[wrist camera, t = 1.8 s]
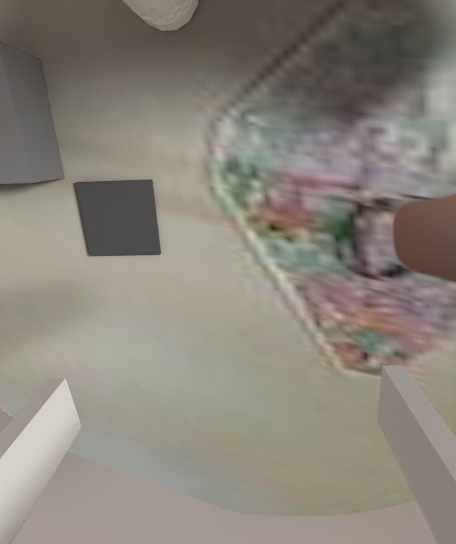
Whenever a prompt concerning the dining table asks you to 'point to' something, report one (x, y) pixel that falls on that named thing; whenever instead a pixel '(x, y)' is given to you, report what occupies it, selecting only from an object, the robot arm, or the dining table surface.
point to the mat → (119, 217)
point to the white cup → (164, 12)
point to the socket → (25, 122)
